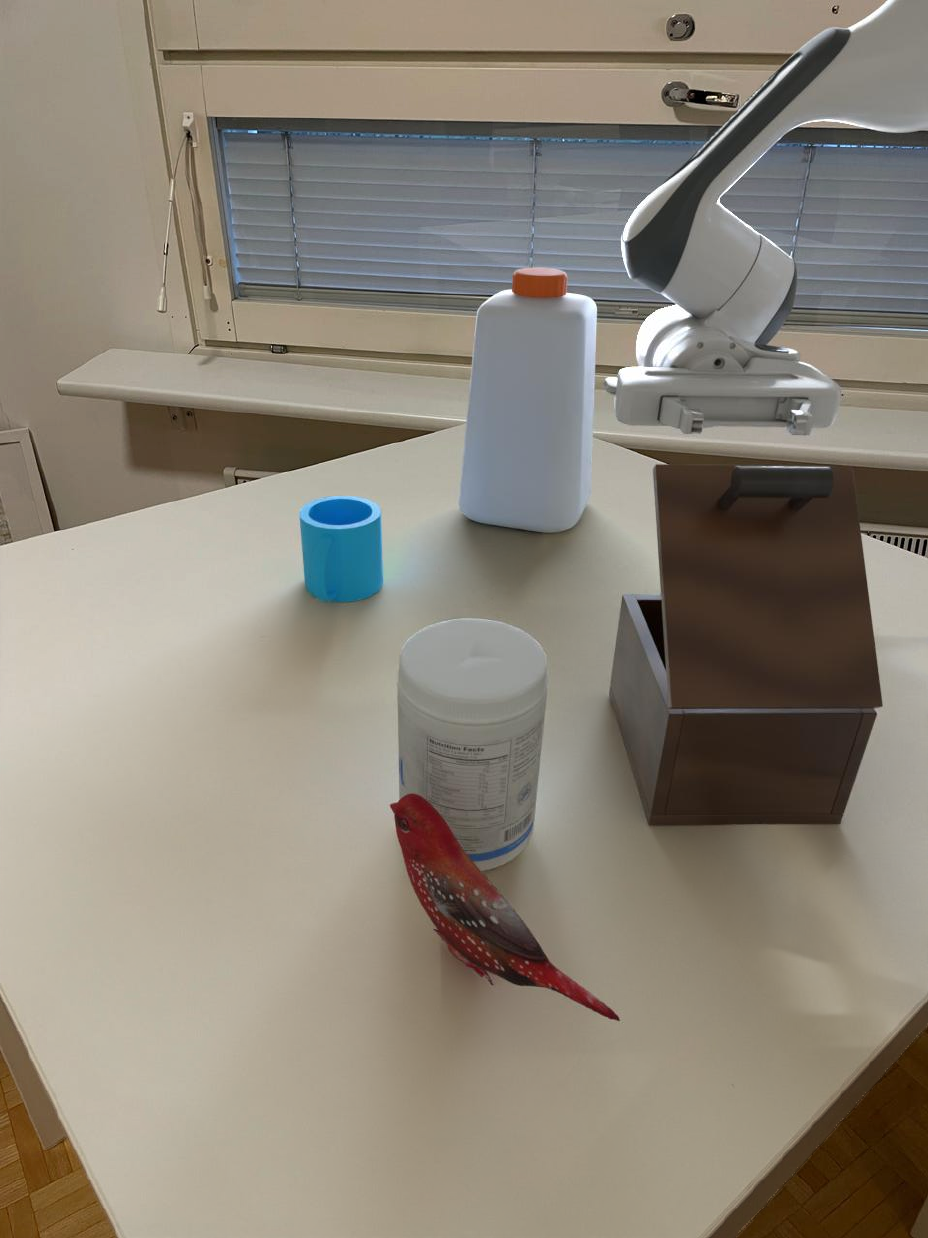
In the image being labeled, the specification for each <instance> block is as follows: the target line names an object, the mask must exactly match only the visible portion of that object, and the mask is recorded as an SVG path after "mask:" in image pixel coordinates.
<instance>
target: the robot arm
mask: <svg viewBox="0 0 928 1238" xmlns="http://www.w3.org/2000/svg"><path fill="white" fill-rule="evenodd" d="M822 121H825V122H837V123H843V124H849V125H853V126H856V127H861V128H866V129H870V130H872V131H873V130H874V131H878V132H885V133H895V134H899V133H900V134H901V133H902V134H903V133H904V134H905V133H913V132H919V131H923V130H927V129H928V0H886V1H885V2H884V4H882V5H881V6H880V7H878V9H876V10H875V11H874V12H872V13H870V15H868V16H867V17H865V18H863V19H862V20H860V21H859V22H857V23H855V24H853V25H851V26H849V27H832V26H831V27H829V28H826V29H825V30H823V31H821V32H820V33H818V34H817V35H815V36H813V37H812V38H811V39H810V40H808V41H807V42H806V43H805V44H803V45H802V46H801V47H800V48H799V49H798V50H797V51H795V52H794V53H793V54H792V55H790V57H789V58H788V59H787V60H785V62H784V63H783V64H782V65H780V66H779V68H778V69H776V70H775V71H774V72H773V73H772V74H771V75H770V76H769V77H768V78H767V79H766V80H765V81H764V82H763V83H762V84H761V85H760V86H759V87H758V88H757V89H756V90H755V91H754V92H753V93H752V94H751V96H749V97H748V98H747V100H746V101H745V102H744V103H742V104H741V106H739V108H737V110H736V111H735V112H734V113H733V114H732V115H731V116H730V117H729V118H728V119H727V120H726V121H725V122H724V123H722V125H721V126H720V127H719V128H718V129H717V130H716V131H715V132H714V133H713V134H712V135H711V137H709V138H708V140H707V141H706V142H704V144H702V146H701V147H700V148H699V149H698V150H697V151H696V152H695V153H694V154H693V155H692V156H691V157H690V158H689V159H688V160H687V161H685V163H684V164H683V165H682V166H680V167H679V168H678V169H677V170H676V171H675V172H673V174H671V175H669V177H667V179H666V180H664V181H663V182H661V184H660V185H659V186H657V187H656V189H654V190H653V191H652V192H651V193H650V194H649V195H647V197H646V198H645V199H644V200H643V201H642V202H641V203H640V204H639V205H638V206H637V208H636V209H634V211H633V212H632V214H631V216H630V218H629V219H628V222H627V223H626V225H625V227H624V229H623V231H622V234H621V237H620V244H621V253H622V258H623V263H624V266H625V269H626V272H627V275H628V277H629V279H630V280H632V281H634V282H636V283H637V284H640V285H641V286H643V287H645V288H647V289H648V290H650V291H653V292H654V293H655V294H660V295H662V296H663V297H665V298H666V299H668V300H669V301H671V302H672V303H674V304H675V305H672V306H671V305H670V306H668V307H667V306H666V307H664V308H660V309H658V310H655V312H653V313H652V314H650V315H649V316H648V317H647V318H646V319H645V321H643V323H642V325H641V326H640V329H639V331H638V334H637V337H636V338H637V339H636V346H635V356H636V361H637V362H636V363H637V364H638V366H631V367H624V368H621V369H620V370H619V371H618V373H617V375H616V376H615V377H606V378H605V379H604V381H603V388H604V389H605V392H606V393H608V394H609V395H612V396H614V405H613V409H614V410H613V411H614V414H615V417H616V420H617V421H618V422H619V423H622V424H623V425H627V426H633V427H637V426H638V427H671V428H675V429H678V430H680V431H681V432H682V434H683V435H702V433H703V429H710V428H782V429H783V428H785V430H786V431H787V433H788V434H790V436H798V437H799V436H800V437H801V436H802V437H803V436H807V437H808V436H810V435H811V433H812V429H828V428H830V427H831V426H832V425H833V424H834V423H835V422H836V419H837V416H838V412H839V409H840V405H841V402H842V394H843V393H842V388H841V387H840V386H841V385H839V384H838V383H837V382H836V381H835V380H833V379H832V378H831V377H830V376H829V375H827V374H826V373H824V372H823V371H822V370H821V369H819V368H817V367H815V366H813V365H812V364H809V363H806V362H804V361H801V353H800V352H799V351H797V350H795V349H793V348H789V347H783V346H776V345H769V343H770V342H771V341H772V340H773V338H774V337H775V336H776V335H777V334H778V332H779V331H780V330H781V328H782V327H783V325H784V324H785V322H786V321H787V319H789V316H790V314H791V312H792V310H793V307H794V304H795V299H796V294H797V287H798V269H797V264H796V261H795V259H794V258H793V257H792V256H790V255H789V254H788V253H787V252H785V251H784V250H782V249H781V248H780V247H779V246H778V245H776V244H775V243H774V242H772V241H771V240H770V239H768V238H767V237H765V236H764V235H763V234H761V233H760V232H757V231H756V230H754V229H753V228H752V227H751V226H750V225H748V224H747V223H745V222H744V221H743V220H741V219H740V218H738V217H737V216H736V215H735V214H733V213H732V212H731V211H729V210H728V209H727V208H725V207H724V206H723V205H722V204H721V203H720V198H721V197H722V196H723V195H724V194H725V193H726V192H727V191H728V190H729V189H730V188H731V187H732V186H733V185H734V184H735V183H736V182H737V181H738V180H739V179H740V178H741V177H742V176H743V175H744V174H746V173H747V171H749V169H751V168H752V167H753V166H754V165H755V164H756V163H757V162H758V161H759V160H760V159H761V158H762V157H763V156H764V155H765V154H766V153H767V152H768V151H769V150H770V149H771V148H772V147H773V146H774V145H775V144H776V143H777V142H778V141H780V139H781V138H783V136H784V135H786V134H787V133H789V132H790V131H792V130H793V129H795V128H798V127H799V126H801V125H802V126H803V125H804V124H807V123H808V124H809V123H812V122H822Z"/></svg>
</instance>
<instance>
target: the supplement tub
mask: <svg viewBox="0 0 928 1238" xmlns="http://www.w3.org/2000/svg"><path fill="white" fill-rule="evenodd" d="M396 676H397V678H396V679H397V681H396V682H397V683H396V685H397V686H396V688H397V692H396V694H397V697H396V699H397V701H396V702H397V737H398V742H397V743H398V801H399V800H400V799H401V798H402V797H403V796H405V795H407V794H411V793H413V794H417V795H420V796H422V797H423V798H425V799H426V800H427V801H428V802H429V803H430V804H431V805H432V806H433V807H434V808H435V809H436V810H437V811H438V813H439V814H440V815H441V816H442V817H443V819H444V820H445V821H446V823H447V824H448V826H449V828H450V829H451V831H452V833H453V834H454V836H455V838H456V840H457V841H458V843H459V844H460V846H461V847H462V849H463V850H464V851H465V853H466V854H467V855H468V856H469V857H470V859H471V860H472V861H473V862H474V863H475V865H476V866H477V867H478V868H479V869H480V870H481V872H483V871H489V870H492V869H495V868H498V867H501V866H503V865H505V864H507V863H509V862H510V861H512V860H513V859H515V858H517V857H518V855H519V854H520V853H521V852H522V851H523V850H524V849H525V848H526V846H527V845H528V843H529V841H530V839H531V837H532V834H533V832H534V828H535V819H536V808H537V800H538V799H537V798H538V790H539V789H538V788H539V779H540V769H541V760H542V759H541V758H542V750H543V749H542V748H543V738H544V729H545V719H546V708H547V698H548V685H549V676H548V658H547V654H546V652H545V650H544V648H543V647H542V645H541V644H540V643H539V642H538V641H537V640H536V639H535V638H534V637H533V636H532V635H530V634H529V633H527V632H526V631H524V630H522V629H521V628H518V627H516V626H513V625H512V624H511V625H510V624H508V623H504V622H502V621H497V620H491V619H485V618H476V617H475V618H473V617H472V618H469V617H468V618H454V619H449V620H443V621H439V622H436V623H432V624H430V625H427V626H425V627H423V628H421V629H420V630H417V631H416V632H415V633H414V634H412V635H411V636H410V637H409V638H408V639H407V640H406V641H405V643H404V644H403V646H402V648H401V650H400V653H399V660H398V669H397V675H396Z"/></svg>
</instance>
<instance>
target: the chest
mask: <svg viewBox="0 0 928 1238" xmlns="http://www.w3.org/2000/svg"><path fill="white" fill-rule="evenodd" d="M620 601H621V602H620V610H619V616H618V622H617V623H618V624H617V632H616V638H615V646H614V652H613V653H614V654H613V661H612V667H611V668H612V669H611V676H610V682H609V684H610V685H609V690H608V691H609V692H608V694H609V698H610V701H611V704H612V708H613V711H614V715H615V719H616V721H617V724H618V728H619V731H620V735H621V737H622V742H623V744H624V748H625V750H626V754H627V757H628V761H629V764H630V767H631V770H632V774H633V777H634V780H635V784H636V787H637V790H638V793H639V797H640V801H641V804H642V808H643V810H644V813H645V817H646V820H647V823H648V825H649V826H728V825H729V826H730V825H731V826H736V825H737V826H739V825H743V826H745V825H746V826H747V825H748V826H749V825H751V826H753V825H839V824H841V823H842V820H843V817H844V813H845V812H846V809H847V805H848V802H849V800H850V796H851V793H852V791H853V787H854V785H855V782H856V779H857V775H858V773H859V769H860V767H861V764H862V761H863V758H864V755H865V752H866V749H867V745H868V743H869V740H870V738H871V734H872V731H873V728H874V725H875V722H876V720H877V716H878V712H877V711H876V708H846V709H669V707H668V692H667V677H666V662H665V646H664V631H663V616H662V601H661V593H657V594H656V593H635V594H634V593H623V594H621V600H620Z"/></svg>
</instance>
